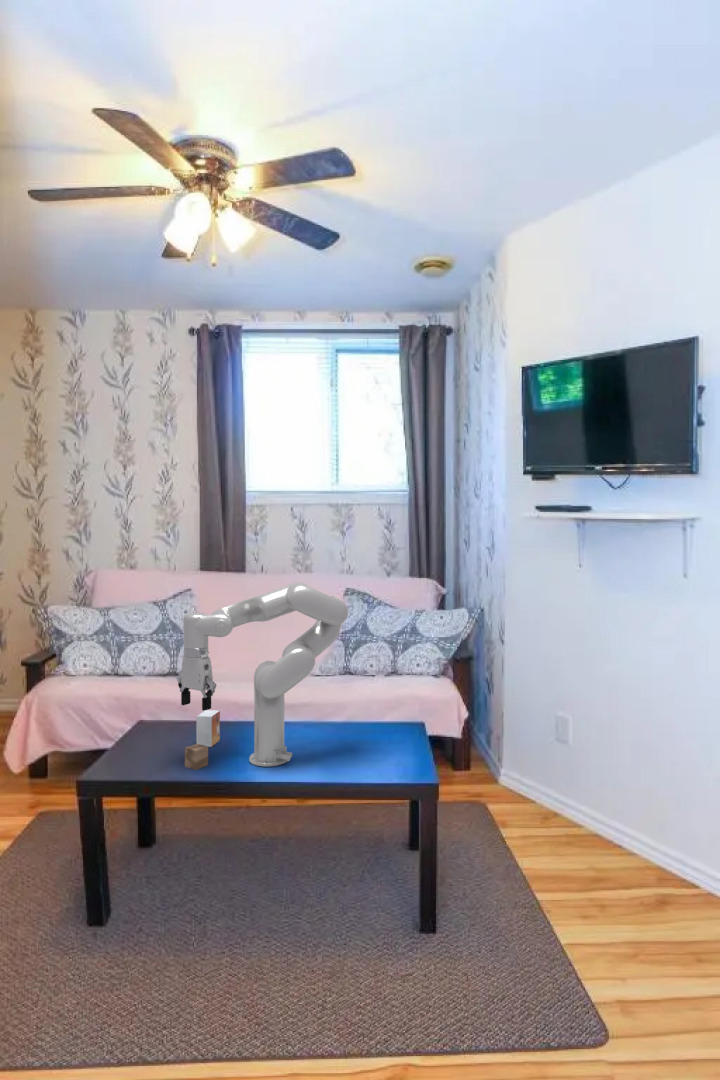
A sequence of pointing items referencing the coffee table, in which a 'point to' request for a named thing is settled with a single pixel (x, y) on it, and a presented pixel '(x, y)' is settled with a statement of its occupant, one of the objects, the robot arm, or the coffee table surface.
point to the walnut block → (196, 756)
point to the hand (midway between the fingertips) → (196, 706)
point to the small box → (208, 728)
